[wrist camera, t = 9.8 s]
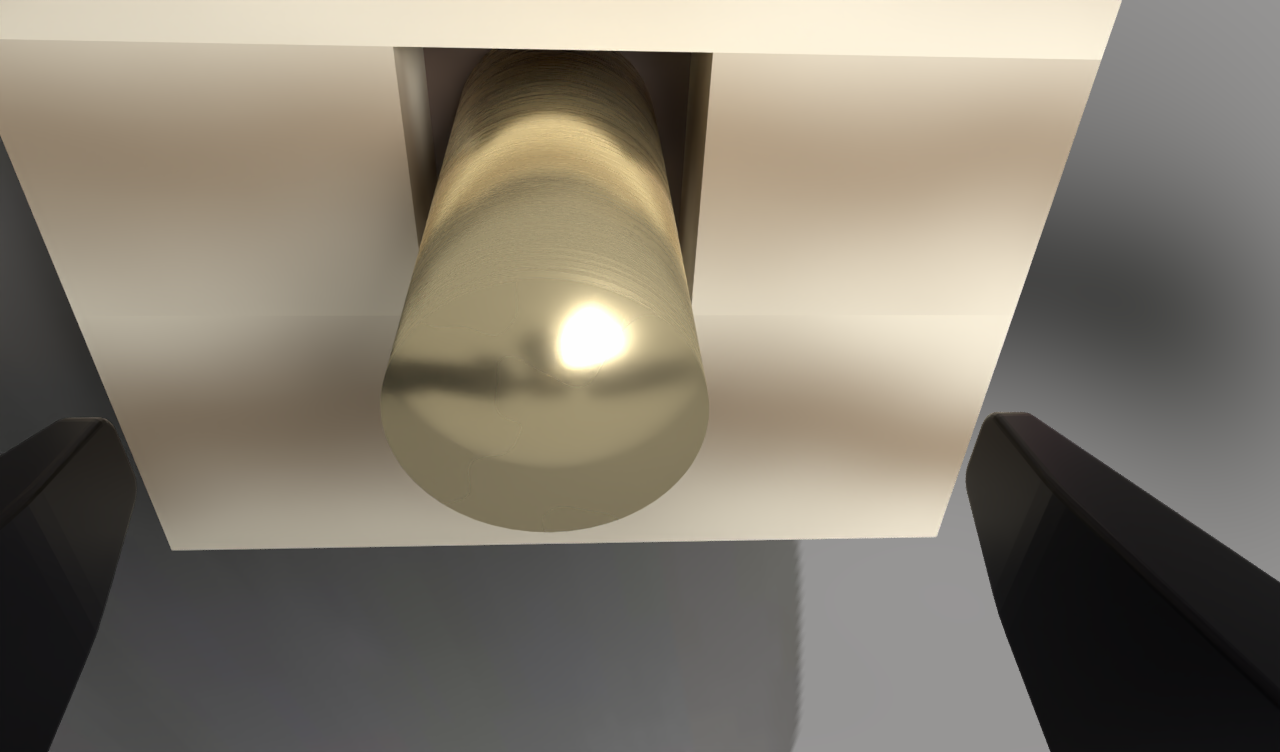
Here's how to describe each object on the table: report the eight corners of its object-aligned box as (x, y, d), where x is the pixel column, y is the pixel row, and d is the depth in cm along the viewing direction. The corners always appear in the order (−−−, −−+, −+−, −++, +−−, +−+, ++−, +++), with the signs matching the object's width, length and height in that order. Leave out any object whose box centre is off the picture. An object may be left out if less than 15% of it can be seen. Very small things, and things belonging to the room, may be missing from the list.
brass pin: (651, 218, 17) (696, 530, 11) (465, 217, 17) (401, 534, 11) (660, 30, 15) (723, 280, 9) (449, 26, 15) (356, 279, 9)
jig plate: (891, 430, 22) (936, 536, 20) (224, 436, 21) (171, 550, 18) (1129, -441, 13) (1285, -475, 10) (-83, -511, 11) (-292, -570, 9)
